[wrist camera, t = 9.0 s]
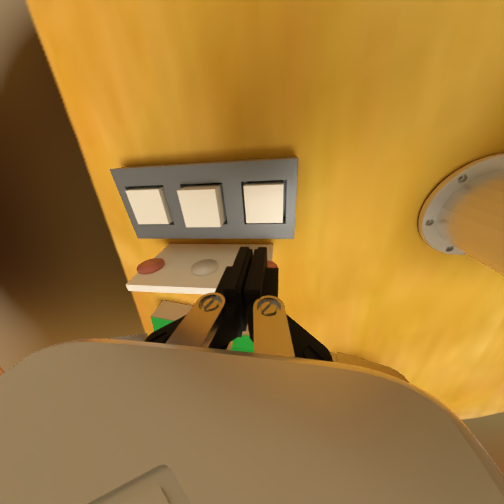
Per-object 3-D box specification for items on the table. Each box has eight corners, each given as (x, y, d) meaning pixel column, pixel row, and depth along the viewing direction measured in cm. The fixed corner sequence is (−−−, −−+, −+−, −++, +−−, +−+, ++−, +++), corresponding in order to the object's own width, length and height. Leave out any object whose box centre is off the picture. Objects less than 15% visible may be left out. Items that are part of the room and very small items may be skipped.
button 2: (170, 184, 27) (158, 189, 24) (178, 216, 29) (168, 224, 27) (139, 186, 27) (125, 190, 25) (150, 217, 30) (138, 224, 27)
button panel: (296, 156, 24) (307, 166, 14) (291, 249, 30) (296, 298, 21) (126, 166, 27) (43, 180, 18) (155, 248, 34) (107, 289, 24)
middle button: (221, 184, 25) (214, 189, 22) (226, 218, 27) (220, 227, 24) (187, 185, 25) (176, 190, 23) (194, 219, 28) (186, 227, 25)
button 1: (283, 179, 24) (283, 184, 22) (282, 215, 27) (282, 222, 24) (247, 181, 25) (243, 185, 23) (249, 215, 28) (246, 223, 25)
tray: (174, 360, 54) (165, 379, 50) (164, 298, 41) (150, 316, 37) (259, 378, 53) (257, 398, 49) (276, 320, 40) (276, 341, 36)
